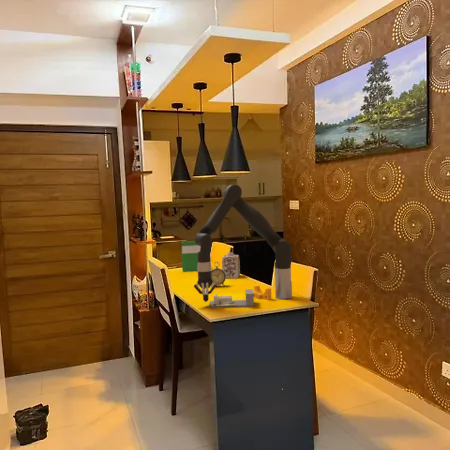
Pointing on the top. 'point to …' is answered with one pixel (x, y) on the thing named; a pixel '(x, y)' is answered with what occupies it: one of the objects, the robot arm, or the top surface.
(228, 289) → the top surface
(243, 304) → the base
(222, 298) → the block
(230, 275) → the decorative jar
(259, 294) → the pipe clamp
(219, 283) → the alarm clock
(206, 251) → the robot arm
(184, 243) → the hardback book
